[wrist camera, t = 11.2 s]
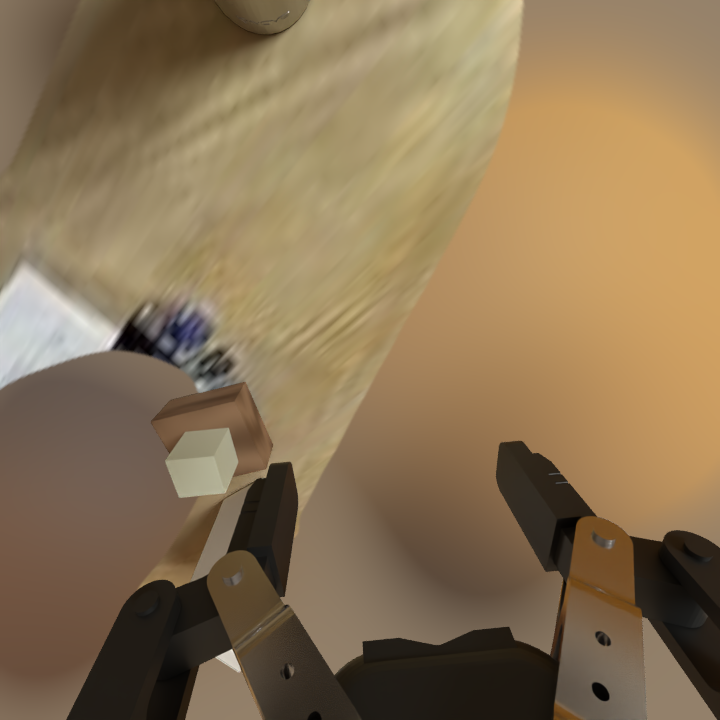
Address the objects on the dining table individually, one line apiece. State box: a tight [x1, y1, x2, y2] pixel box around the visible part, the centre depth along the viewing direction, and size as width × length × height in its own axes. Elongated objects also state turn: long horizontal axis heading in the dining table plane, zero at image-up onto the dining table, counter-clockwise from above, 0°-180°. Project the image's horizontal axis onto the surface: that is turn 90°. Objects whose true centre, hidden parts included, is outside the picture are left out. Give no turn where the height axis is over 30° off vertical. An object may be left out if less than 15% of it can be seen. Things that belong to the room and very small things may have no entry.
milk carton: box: [190, 478, 262, 673], centre depth 42 cm, size 7×7×19 cm
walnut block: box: [151, 382, 273, 477], centre depth 43 cm, size 10×10×5 cm
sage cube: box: [165, 428, 238, 498], centre depth 38 cm, size 5×5×5 cm
